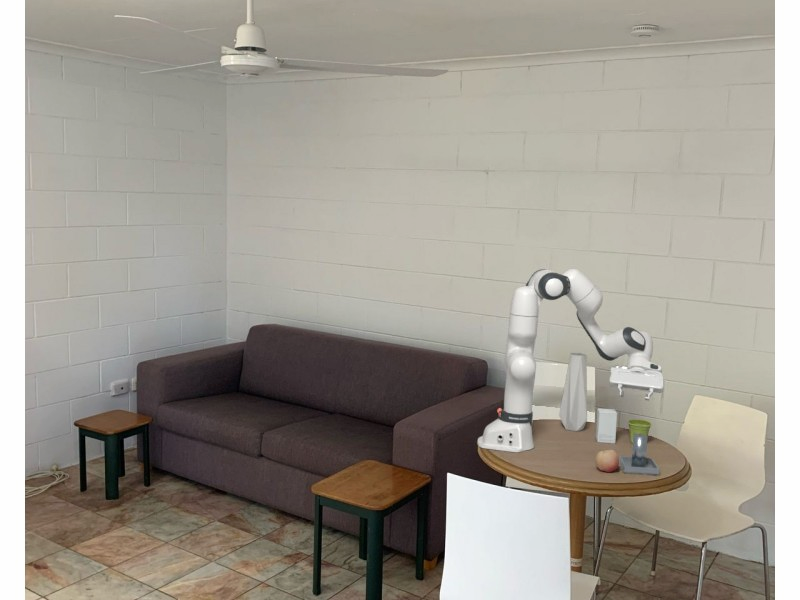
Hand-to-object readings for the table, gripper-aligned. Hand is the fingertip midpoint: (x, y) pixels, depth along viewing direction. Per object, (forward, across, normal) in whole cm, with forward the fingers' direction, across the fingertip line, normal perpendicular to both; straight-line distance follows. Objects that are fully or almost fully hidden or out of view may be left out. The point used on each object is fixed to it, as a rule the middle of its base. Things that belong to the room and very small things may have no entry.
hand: (634, 397), depth 290 cm
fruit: (+32, -6, +1) cm, 33 cm away
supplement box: (+4, -11, +29) cm, 31 cm away
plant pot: (+3, +2, +30) cm, 30 cm away
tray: (+26, +4, +6) cm, 27 cm away
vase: (-3, -25, +36) cm, 44 cm away
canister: (+26, +4, +6) cm, 27 cm away
